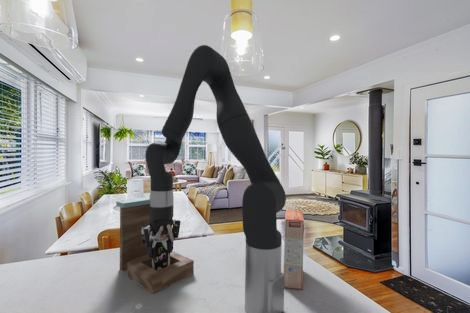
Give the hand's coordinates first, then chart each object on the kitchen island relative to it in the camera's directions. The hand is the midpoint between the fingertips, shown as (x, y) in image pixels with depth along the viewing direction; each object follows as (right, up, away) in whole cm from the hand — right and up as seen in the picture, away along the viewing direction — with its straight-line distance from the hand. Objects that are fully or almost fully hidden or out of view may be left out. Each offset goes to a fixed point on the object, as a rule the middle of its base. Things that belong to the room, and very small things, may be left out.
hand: (161, 254), depth 79 cm
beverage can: (0, -7, 0) cm, 7 cm away
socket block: (0, -7, 0) cm, 7 cm away
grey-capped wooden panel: (-10, -7, +8) cm, 15 cm away
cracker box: (+43, -8, 0) cm, 44 cm away
